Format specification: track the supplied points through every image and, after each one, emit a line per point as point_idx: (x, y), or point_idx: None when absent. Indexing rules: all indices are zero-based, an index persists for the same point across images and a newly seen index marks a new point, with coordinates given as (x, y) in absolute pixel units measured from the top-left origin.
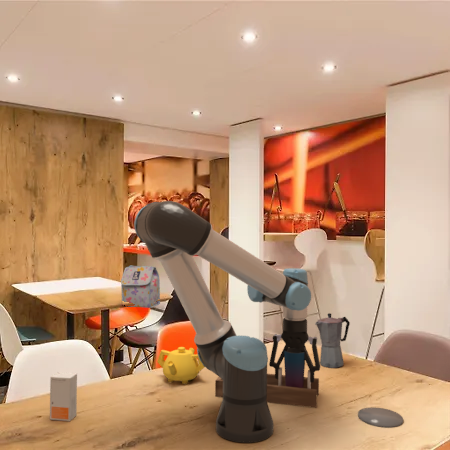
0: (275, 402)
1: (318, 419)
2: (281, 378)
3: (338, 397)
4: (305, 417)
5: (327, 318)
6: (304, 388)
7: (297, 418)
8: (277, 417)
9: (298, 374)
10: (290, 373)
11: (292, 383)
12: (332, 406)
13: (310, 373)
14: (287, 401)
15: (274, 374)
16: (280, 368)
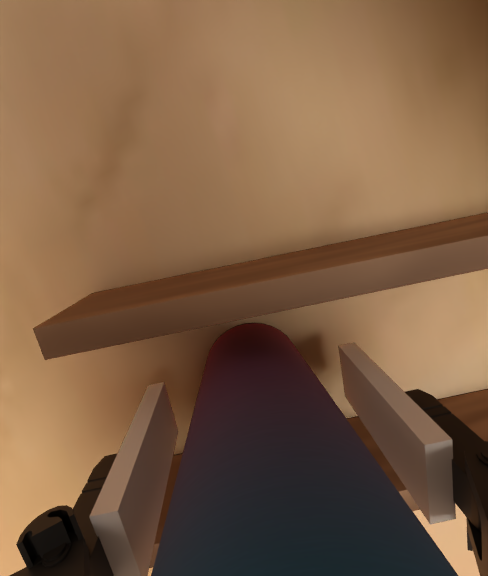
0: (330, 246)
1: (8, 123)
2: (375, 421)
3: (41, 484)
4: (91, 114)
5: None
6: (141, 333)
7: (129, 72)
8: (249, 24)
9: (206, 437)
10: (294, 413)
11: (259, 366)
12: (18, 355)
13: (99, 520)
14: (260, 262)
15: None
16: (439, 487)
